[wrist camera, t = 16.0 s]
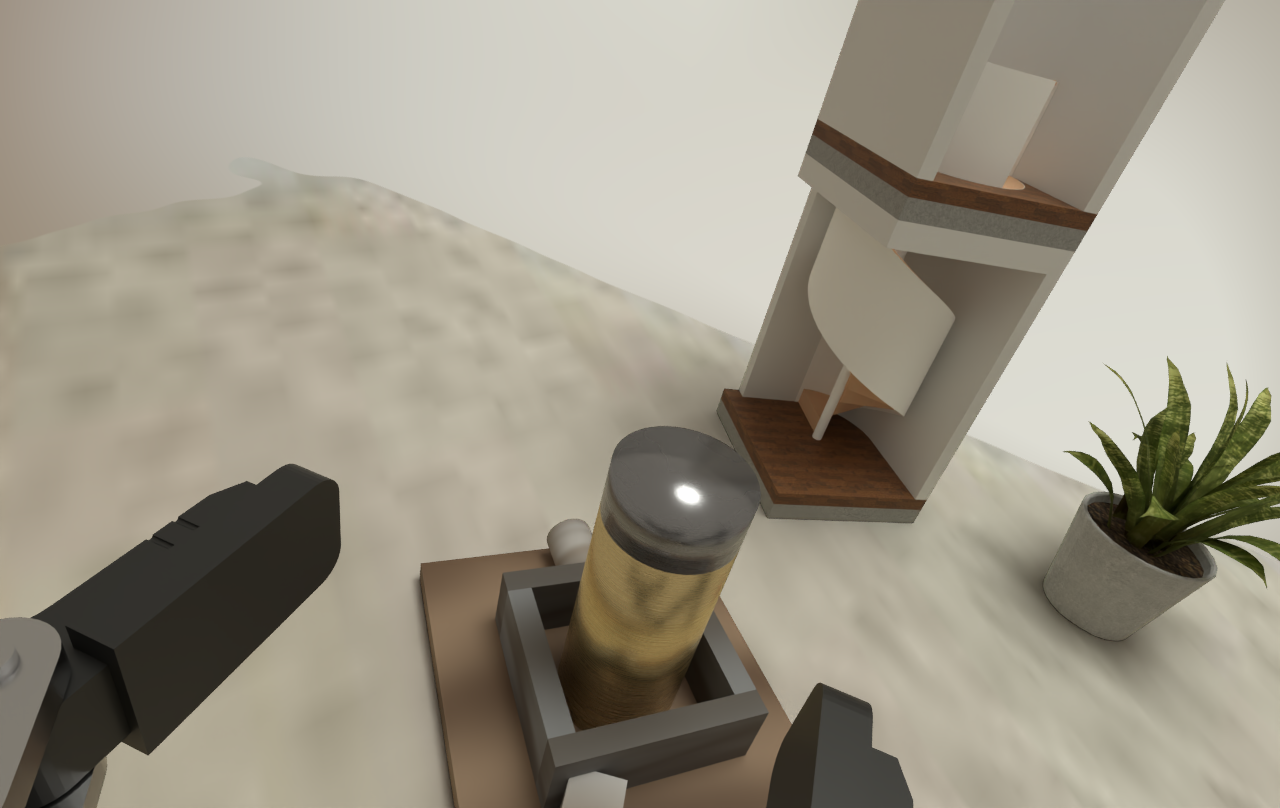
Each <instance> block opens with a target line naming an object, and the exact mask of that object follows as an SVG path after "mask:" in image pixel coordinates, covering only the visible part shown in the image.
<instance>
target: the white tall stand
mask: <svg viewBox="0 0 1280 808" xmlns="http://www.w3.org/2000/svg"><path fill="white" fill-rule="evenodd" d="M1224 1H1225V0H858V3H857V6H856V9H855V12H854V15H853V18H852V20H851V24H850V27H849V29H848V32H847V35H846V38H845V41H844V44H843V47H842V49H841V52H840V55H839V58H838V61H837V64H836V67H835V70H834V73H833V76H832V78H831V81H830V84H829V87H828V90H827V93H826V96H825V99H824V102H823V105H822V108H821V110H820V113H819V116H818V119H817V122H816V125H815V128H814V131H813V134H812V136H811V139H810V143H809V145H808V148H807V151H806V154H805V157H804V160H803V163H802V166H801V168H800V171H799V174H798V176H799V177H800V178H801V179H802V180H803V181H805V182H806V183H807V184H808V185H810V186H811V187H812V188H811V191H810V193H809V196H808V199H807V202H806V205H805V207H804V210H803V213H802V216H801V219H800V222H799V224H798V227H797V230H796V233H795V235H794V238H793V241H792V244H791V246H790V249H789V252H788V255H787V257H786V260H785V263H784V266H783V269H782V271H781V275H780V277H779V280H778V283H777V286H776V288H775V291H774V294H773V297H772V299H771V302H770V305H769V308H768V310H767V313H766V316H765V319H764V322H763V325H762V327H761V330H760V333H759V335H758V338H757V341H756V344H755V347H754V349H753V352H752V355H751V358H750V361H749V363H748V366H747V369H746V372H745V374H744V377H743V380H742V383H741V386H740V388H739V390H733V389H724V391H723V394H722V397H721V400H720V403H719V406H718V409H717V413H718V415H719V417H720V419H721V422H722V424H723V426H724V428H725V430H726V432H727V434H728V436H729V438H730V440H731V442H732V445H733V447H734V449H735V451H736V452H737V453H738V454H739V455H740V456H741V457H742V458H743V459H744V460H746V462H747V463H748V464H749V465H750V466H751V468H752V470H753V471H754V473H755V474H756V477H757V479H758V481H759V485H760V490H761V499H760V503H761V505H762V507H763V509H764V512H765V514H766V516H767V518H782V519H811V520H840V521H869V522H897V523H913V522H914V521H915V519H916V517H917V516H918V514H919V512H920V511H921V509H922V507H923V506H924V504H925V502H926V501H927V499H928V497H929V496H930V494H931V492H932V490H933V489H934V487H935V485H936V484H937V482H938V480H939V479H940V477H941V475H942V474H943V472H944V470H945V469H946V467H947V465H948V464H949V462H950V460H951V459H952V457H953V455H954V454H955V452H956V450H957V449H958V447H959V445H960V444H961V442H962V440H963V439H964V437H965V435H966V434H967V432H968V430H969V429H970V427H971V425H972V423H973V422H974V420H975V418H976V417H977V415H978V413H979V412H980V410H981V408H982V407H983V405H984V403H985V402H986V400H987V398H988V397H989V395H990V393H991V392H992V390H993V388H994V387H995V385H996V383H997V382H998V380H999V378H1000V377H1001V375H1002V373H1003V372H1004V370H1005V368H1006V366H1007V365H1008V363H1009V361H1010V360H1011V358H1012V356H1013V355H1014V353H1015V351H1016V350H1017V348H1018V346H1019V345H1020V343H1021V341H1022V340H1023V338H1024V336H1025V335H1026V333H1027V331H1028V330H1029V328H1030V326H1031V325H1032V323H1033V321H1034V320H1035V318H1036V316H1037V315H1038V313H1039V311H1040V310H1041V308H1042V306H1043V305H1044V303H1045V301H1046V299H1047V298H1048V296H1049V295H1050V293H1051V291H1052V289H1053V288H1054V286H1055V284H1056V283H1057V281H1058V279H1059V278H1060V276H1061V274H1062V273H1063V271H1064V269H1065V267H1066V266H1067V264H1068V263H1069V261H1070V259H1071V257H1072V256H1073V254H1074V253H1075V251H1076V249H1077V248H1078V246H1079V244H1080V243H1081V241H1082V239H1083V237H1084V236H1085V234H1086V233H1087V231H1088V229H1089V227H1090V226H1091V224H1092V222H1093V221H1094V219H1095V217H1096V216H1097V214H1098V212H1099V211H1100V209H1101V207H1102V206H1103V204H1104V202H1105V201H1106V199H1107V197H1108V196H1109V194H1110V192H1111V191H1112V189H1113V187H1114V185H1115V184H1116V182H1117V181H1118V179H1119V177H1120V175H1121V174H1122V172H1123V171H1124V169H1125V167H1126V166H1127V164H1128V162H1129V161H1130V159H1131V157H1132V155H1133V154H1134V152H1135V150H1136V148H1137V147H1138V145H1139V144H1140V142H1141V140H1142V139H1143V137H1144V135H1145V134H1146V132H1147V130H1148V129H1149V127H1150V125H1151V124H1152V122H1153V120H1154V119H1155V117H1156V115H1157V114H1158V112H1159V110H1160V109H1161V107H1162V105H1163V103H1164V102H1165V100H1166V98H1167V97H1168V95H1169V93H1170V91H1171V90H1172V88H1173V87H1174V85H1175V83H1176V82H1177V80H1178V78H1179V77H1180V75H1181V73H1182V72H1183V70H1184V68H1185V67H1186V65H1187V63H1188V62H1189V60H1190V58H1191V56H1192V55H1193V53H1194V52H1195V50H1196V48H1197V47H1198V45H1199V43H1200V42H1201V40H1202V38H1203V37H1204V35H1205V33H1206V31H1207V30H1208V28H1209V27H1210V25H1211V23H1212V21H1213V20H1214V18H1215V16H1216V15H1217V13H1218V11H1219V9H1220V8H1221V6H1222V5H1223V3H1224Z"/></svg>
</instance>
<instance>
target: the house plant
mask: <svg viewBox="0 0 1280 808" xmlns="http://www.w3.org/2000/svg"><path fill="white" fill-rule="evenodd" d="M1167 362H1168V369H1169V392H1168V403H1167V408H1166V409H1164V410H1163V411H1161V412H1160V413H1158V414H1157V415H1156V416H1154V417H1153V418H1151V419H1150V421H1149V423H1148V424H1147V426H1146V427H1145V426H1144V422H1143V419H1142V416H1141V414H1140V411H1139V409H1138V411H1139V414H1140V417H1141V419H1142V422H1143V426H1144V432H1143V435H1142V436H1139V435H1137V434H1135V433H1133V434H1134V436H1135V438H1134V439H1136V438H1139V440H1140V441H1141V443H1140V447H1139V452H1138V457H1137V472H1136V471H1135V469H1134V468H1133V467H1132V465H1131V464H1130V462H1129V461H1128V459H1127V458H1126V457H1125V455H1124V454H1123V453H1122V452H1121V450H1120V449H1119V448H1118V447H1117V445H1116V444H1115V443H1114V442H1113V441H1112V440H1111V439H1110V438H1109V436H1108V435H1106V433H1104V432H1103V431H1102V430H1100V429H1099V428H1098V427H1096V426H1095V425H1094V424H1092V423H1091V422H1090V424H1091V427H1092V429H1093V431H1094V432H1095V433H1096V434H1097V435H1098V437H1099V438H1100V439H1101V442H1102V445H1103V447H1104V450H1105V452H1106V454H1107V456H1108V457H1109V459H1110V461H1111V462H1112V464H1113V465H1114V467H1115V468H1116V470H1117V472H1118V474H1119V476H1120V478H1121V481H1122V486H1123V490H1124V495H1119V494H1115V493H1113V488H1112V483H1111V481H1110V479H1109V477H1108V475H1107V473H1106V471H1105V470H1104V468H1103V466H1102V465H1101V464H1100V463H1099V462H1098V461H1097V459H1095V458H1093V457H1092V456H1090V455H1088V454H1085V453H1083V452H1076V451H1064V452H1068V453H1070V454H1072V455H1073V456H1074V457H1076V458H1077V459H1078V460H1080V461H1081V462H1082V463H1083V464H1084V465H1086V466H1087V467H1088V468H1089V469H1090V470H1091V471H1093V472H1094V473H1095V474H1096V475H1097V476H1098V477H1099V479H1100V480H1101V481H1102V482H1103V484H1104V485H1105V486H1106V488H1107V489H1108V491H1109V492H1093V493H1091V494H1088V495H1086V496H1085V497H1084V499H1083V501H1082V503H1081V505H1080V507H1079V509H1078V511H1077V513H1076V515H1075V517H1074V519H1073V521H1072V523H1071V525H1070V527H1069V529H1068V531H1067V533H1066V536H1065V538H1064V540H1063V542H1062V544H1061V546H1060V548H1059V550H1058V552H1057V554H1056V556H1055V558H1054V560H1053V562H1052V564H1051V566H1050V568H1049V571H1048V573H1047V575H1046V577H1045V579H1044V581H1043V589H1044V591H1045V594H1046V596H1047V598H1048V599H1049V601H1050V602H1051V604H1052V605H1053V606H1054V607H1055V608H1056V609H1057V610H1058V612H1059V613H1060V614H1062V615H1063V616H1064V617H1066V618H1067V619H1068V620H1070V621H1071V622H1072V623H1074V624H1075V625H1077V626H1078V627H1080V628H1082V629H1083V630H1085V631H1087V632H1089V633H1090V634H1092V635H1094V636H1097V637H1100V638H1103V639H1106V640H1113V641H1119V640H1124V639H1126V638H1127V637H1129V636H1130V635H1132V634H1133V633H1135V632H1136V631H1137V630H1139V629H1140V628H1142V627H1143V626H1145V625H1146V624H1148V623H1149V622H1151V621H1152V620H1154V619H1155V618H1156V617H1158V616H1159V615H1161V614H1162V613H1164V612H1165V611H1167V610H1168V609H1170V608H1171V607H1172V606H1174V605H1175V604H1177V603H1178V602H1180V601H1181V600H1183V599H1184V598H1186V597H1187V596H1189V595H1190V594H1191V593H1193V592H1194V591H1196V590H1197V589H1199V588H1200V587H1202V586H1203V585H1205V584H1206V583H1208V582H1209V581H1210V580H1212V579H1213V578H1215V577H1216V573H1217V565H1216V563H1215V560H1214V558H1213V556H1212V555H1211V553H1210V552H1209V551H1208V549H1207V548H1206V547H1205V546H1204V545H1203V544H1205V545H1207V546H1210V547H1212V548H1214V549H1216V550H1218V551H1220V552H1222V553H1224V554H1226V555H1228V556H1230V557H1231V558H1233V559H1235V560H1237V561H1238V562H1240V563H1242V564H1243V565H1245V566H1247V567H1248V568H1250V569H1252V570H1253V571H1254V572H1255V573H1256V574H1257V575H1258V576H1259V577H1260V578H1262V579H1263V581H1264V583H1265V585H1266V579H1265V573H1264V568H1263V566H1262V564H1261V563H1260V562H1259V561H1258V560H1257V559H1256V558H1255V557H1254V556H1253V555H1251V554H1250V553H1249V552H1247V551H1245V550H1243V549H1242V548H1240V547H1238V546H1235V545H1232V544H1229V543H1227V542H1223V541H1220V540H1217V539H1236V540H1239V541H1243V542H1247V543H1249V544H1251V545H1254V546H1256V547H1258V548H1260V549H1262V550H1264V551H1266V552H1268V553H1269V554H1271V555H1272V556H1274V557H1275V558H1277V559H1278V560H1279V561H1280V544H1278V543H1276V542H1273V541H1270V540H1266V539H1262V538H1258V537H1253V536H1232V535H1231V536H1230V535H1229V536H1223V537H1219V538H1208V537H1211V536H1213V535H1216V534H1219V533H1221V532H1224V531H1226V530H1229V529H1231V528H1234V527H1238V526H1242V525H1245V524H1250V523H1254V522H1258V521H1264V520H1269V519H1277V518H1280V507H1270V506H1273V505H1276V504H1279V503H1280V486H1257V485H1261V484H1265V483H1271V482H1276V481H1280V453H1277V454H1274V455H1271V456H1269V457H1268V458H1266V459H1264V460H1262V461H1260V462H1258V463H1256V464H1255V465H1253V466H1251V467H1250V468H1248V469H1246V470H1245V471H1243V472H1242V473H1240V474H1238V475H1237V476H1235V477H1233V478H1231V479H1230V480H1228V481H1226V482H1224V481H1225V480H1226V478H1227V477H1228V475H1229V474H1230V473H1231V471H1232V470H1233V468H1234V467H1235V466H1236V465H1237V464H1238V463H1239V462H1240V461H1241V460H1242V459H1243V458H1244V457H1245V456H1246V454H1247V453H1248V452H1249V451H1250V450H1251V449H1252V448H1253V447H1254V445H1255V444H1256V443H1257V441H1258V440H1259V439H1260V438H1261V437H1262V435H1263V434H1264V432H1265V430H1266V429H1267V427H1268V425H1269V424H1270V422H1271V406H1270V403H1271V394H1270V392H1269V390H1268V388H1265V389H1264V390H1263V391H1262V392H1261V393H1260V394H1259V395H1258V397H1257V399H1256V400H1255V401H1254V403H1253V405H1252V406H1251V408H1250V410H1249V412H1248V413H1247V415H1246V416H1245V418H1244V419H1243V421H1242V422H1241V420H1242V418H1243V415H1244V412H1245V409H1246V405H1247V401H1248V386H1247V382H1246V389H1247V390H1246V400H1245V404H1244V408H1243V410H1242V412H1241V414H1240V416H1239V418H1238V420H1237V421H1236V423H1235V419H1236V414H1237V410H1238V403H1237V394H1236V389H1235V384H1234V380H1233V377H1232V375H1231V372H1230V370H1229V367H1228V365H1227V371H1228V379H1229V388H1230V405H1229V408H1228V411H1227V414H1226V417H1225V420H1224V423H1223V425H1222V427H1221V429H1220V432H1219V434H1218V436H1217V438H1216V440H1215V442H1214V444H1213V446H1212V448H1211V450H1210V451H1209V453H1208V455H1207V456H1206V458H1205V459H1204V461H1203V463H1202V464H1201V466H1200V467H1199V469H1198V471H1197V473H1196V475H1195V476H1194V478H1193V480H1192V476H1193V465H1192V464H1191V462H1190V461H1189V460H1188V458H1189V457H1190V456H1191V454H1192V452H1193V448H1194V442H1195V440H1196V437H1195V434H1194V433H1192V434H1190V435H1189V436H1188V432H1189V425H1190V415H1191V404H1190V401H1189V397H1188V394H1187V391H1186V389H1185V387H1184V384H1183V381H1182V378H1181V375H1180V372H1179V370H1178V369H1177V367H1176V366H1175V365H1174V364H1173V363H1172V362H1171V361H1170V360H1169V359H1168V357H1167ZM1107 367H1108V366H1107ZM1108 368H1109V369H1110V370H1111V371H1113V372H1114V373H1115V374H1116V375H1117V376H1118V377H1119V378H1120V379H1121V380H1122V381H1123V383H1124V384H1125V386H1126V387H1127V389H1128V390H1129V392H1130V393H1131V395H1132V397H1133V399H1134V396H1133V394H1132V392H1131V390H1130V388H1129V387H1128V385H1127V384H1126V383H1125V381H1124V380H1123V379H1122V377H1121V376H1120V375H1119V374H1118V373H1117V372H1116V371H1114V370H1113V369H1111V368H1110V367H1108ZM1134 401H1135V399H1134ZM1135 404H1136V406H1137V403H1136V401H1135ZM1137 408H1138V407H1137ZM1240 422H1241V423H1240ZM1234 424H1235V425H1234ZM1155 471H1156V473H1155ZM1154 473H1155V479H1154V486H1153V478H1154ZM1191 480H1192V481H1191ZM1223 482H1224V483H1223ZM1152 486H1153V493H1152ZM1263 497H1267V498H1264V499H1261V500H1259V499H1258V498H1263ZM1236 507H1238V508H1236ZM1233 508H1234V509H1233ZM1230 509H1231V510H1230ZM1226 510H1227V511H1226ZM1223 511H1224V512H1223ZM1219 512H1220V513H1219ZM1216 513H1217V514H1216ZM1225 513H1226V514H1225ZM1212 514H1214V515H1212ZM1221 514H1224V515H1221ZM1210 515H1211V516H1210ZM1218 515H1221V516H1219V517H1216V518H1214V519H1212V520H1209V521H1206V522H1204V523H1202V524H1200V525H1197V526H1195V527H1193V528H1191V529H1188V530H1187V529H1186V528H1187V527H1189V526H1191V525H1193V524H1195V523H1198V522H1200V521H1202V520H1205V519H1208V518H1211V517H1214V516H1218ZM1202 543H1203V544H1202ZM1266 588H1267V585H1266Z"/></svg>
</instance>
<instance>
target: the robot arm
mask: <svg viewBox="0 0 1280 808" xmlns="http://www.w3.org/2000/svg"><path fill="white" fill-rule="evenodd" d="M340 549H341V535H340V503H339V487H338V484H337V483H336V482H335V481H334V480H331V479H329V478H327V477H324V476H322V475H320V474H317V473H315V472H312V471H310V470H308V469H305V468H303V467H301V466H298V465H295V464H287V465H285V466H282V467H281V468H279V469H277V470H276V471H275V472H273V473H272V474H271V475H269V476H268V477H267V478H265V479H264V480H262V481H261V482H260V483H258V484H257V485H255V484H253V483H250V482H248V481H246V482H243V483H241V484H238V485H235V486H233V487H230V488H227V489H225V490H222V491H219V492H217V493H214V494H211V495H209V496H207V497H206V498H205V499H203V500H202V501H200V502H199V503H197V504H196V505H195V506H193V507H192V508H190V509H189V510H187V511H186V512H185V513H183V514H182V515H180V516H179V517H178V520H177V521H176V522H173V521H172V522H170V523H169V524H167V525H166V526H164V527H163V528H162V529H160V530H159V531H157V532H156V533H154V534H153V536H152V538H151V539H150V540H144V541H143V542H142V543H140V544H139V545H137V546H136V547H134V548H133V549H132V550H130V551H129V552H127V553H126V554H124V555H123V556H122V557H120V558H119V559H117V560H116V561H114V562H113V563H111V564H110V565H109V566H107V567H106V568H104V569H103V570H101V571H100V572H99V573H97V574H96V575H94V576H93V577H91V578H90V579H89V580H87V581H86V582H84V583H83V584H81V585H80V586H79V587H77V588H76V589H74V590H73V591H71V592H70V593H68V594H67V595H66V596H64V597H63V598H61V599H60V600H58V601H57V602H56V603H54V604H53V605H51V606H50V607H48V608H47V609H45V610H44V611H42V612H40V613H39V614H37V615H35V616H33V617H31V618H22V617H18V618H5V619H0V808H97V804H98V801H99V797H100V793H101V790H102V786H103V782H104V779H105V775H106V770H107V758H106V756H107V755H108V754H109V753H110V752H111V751H112V750H113V749H114V748H115V747H116V746H117V745H118V744H119V743H120V742H123V743H125V744H127V745H129V746H131V747H133V748H135V749H137V750H139V751H141V752H143V753H144V754H146V755H149V754H150V753H151V752H152V751H153V750H154V749H155V748H156V747H158V746H159V745H160V744H161V743H162V742H163V741H164V740H165V739H166V738H167V737H168V736H169V735H170V734H171V733H172V732H173V731H174V730H175V729H176V728H177V727H178V726H179V725H180V724H181V723H182V722H183V721H184V720H185V719H186V718H187V717H188V716H189V715H190V714H191V713H192V712H193V711H194V710H195V709H196V708H197V707H198V706H199V705H200V704H201V703H202V702H203V701H204V700H205V699H206V698H207V697H208V696H209V695H210V694H211V693H212V692H213V691H214V690H215V689H216V688H217V687H218V686H219V685H220V684H221V683H222V682H223V681H224V680H225V679H226V678H227V677H228V676H229V675H230V674H231V673H232V672H233V671H234V670H235V669H236V668H237V667H238V666H239V665H240V664H241V663H242V662H243V661H244V660H245V659H246V658H247V657H248V656H249V655H250V654H251V653H252V652H253V651H254V650H255V649H256V648H258V647H259V646H260V645H261V644H262V643H263V642H264V641H265V640H266V639H267V638H268V637H269V636H270V635H271V634H272V633H273V632H274V631H275V630H276V629H277V628H278V627H279V626H280V625H281V624H282V623H283V622H284V621H285V620H286V619H287V618H288V617H289V616H290V615H291V614H292V613H293V612H294V611H295V610H296V609H297V608H298V607H299V606H300V605H301V604H302V603H303V602H304V601H305V600H306V599H307V598H308V597H309V596H310V595H311V594H312V593H313V592H314V591H315V590H316V589H317V588H318V587H319V586H320V585H321V584H322V583H323V582H324V581H325V580H326V578H327V577H328V576H329V574H330V573H331V571H332V570H333V568H334V566H335V564H336V562H337V559H338V557H339V553H340ZM872 723H873V713H872V708H871V705H870V704H869V703H867V702H865V701H863V700H860V699H858V698H856V697H853V696H851V695H848V694H846V693H844V692H841V691H839V690H837V689H834V688H832V687H829V686H827V685H825V684H822V683H818V684H817V685H816V686H815V687H814V689H813V690H812V692H811V694H810V695H809V697H808V699H807V700H806V702H805V704H804V705H803V707H802V709H801V710H800V712H799V714H798V715H797V717H796V719H795V720H794V722H793V724H792V726H791V727H790V729H789V731H788V732H787V734H786V736H785V737H784V739H783V741H782V743H781V746H780V748H779V751H778V754H777V757H776V760H775V763H774V767H773V771H772V775H771V781H770V786H769V793H768V799H767V805H766V808H913V799H912V796H911V794H910V791H909V788H908V786H907V783H906V780H905V778H904V775H903V772H902V770H901V767H900V764H899V761H898V759H897V758H896V757H893V756H891V755H889V754H886V753H884V752H882V751H879V750H877V749H875V748H872Z"/></svg>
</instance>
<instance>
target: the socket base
mask: <svg viewBox="0 0 1280 808" xmlns="http://www.w3.org/2000/svg"><path fill="white" fill-rule="evenodd" d="M591 538H592V533H591V531H590V528H589V526H588V524H587V523H586V522H585V521H583V520H580V519H569V520H565V521H563V522H560V523H559V524H557V525H556V526H554V527H553V528H552V529H551V530H550V532H549V534H548V536H547V543H548V546H549V549H541V550H532V551H524V552H515V553H507V554H498V555H490V556H481V557H472V558H464V559H455V560H447V561H438V562H430V563H421V570H420V582H421V589H422V595H423V602H424V608H425V615H426V622H427V628H428V635H429V641H430V648H431V655H432V661H433V668H434V674H435V681H436V688H437V694H438V701H439V707H440V714H441V721H442V727H443V734H444V740H445V747H446V754H447V760H448V767H449V774H450V780H451V787H452V793H453V800H454V807H455V808H766V805H767V799H768V793H769V786H770V781H771V775H772V771H773V767H774V763H775V760H776V757H777V754H778V751H779V748H780V746H781V743H782V741H783V739H784V737H785V736H786V734H787V732H788V731H789V729H790V727H791V726H792V724H791V722H790V721H789V719H788V717H787V715H786V713H785V712H784V710H783V708H782V706H781V705H780V703H779V701H778V699H777V697H776V696H775V694H774V692H773V690H772V688H771V687H770V685H769V683H768V681H767V680H766V678H765V676H764V674H763V672H762V671H761V669H760V667H759V665H758V664H757V662H756V660H755V658H754V656H753V655H752V653H751V651H750V649H749V648H748V646H747V644H746V642H745V640H744V639H743V637H742V635H741V633H740V632H739V630H738V628H737V626H736V624H735V623H734V621H733V619H732V617H731V615H730V614H729V612H728V610H727V608H726V607H725V605H724V603H723V601H722V599H721V598H720V596H719V598H718V600H717V603H716V605H715V607H714V609H713V612H712V614H711V616H710V619H709V621H708V623H707V626H706V628H705V630H704V632H703V635H702V637H701V639H700V642H699V644H698V646H697V649H696V651H695V653H694V655H693V658H692V660H691V662H690V665H689V667H688V669H687V672H686V674H685V676H684V678H683V681H682V683H681V685H680V688H679V690H678V692H677V695H676V697H675V699H674V701H673V704H672V706H671V708H670V710H668V711H664V712H659V713H655V714H651V715H647V716H642V717H638V718H634V719H630V720H626V721H621V722H617V723H613V724H609V725H605V726H600V727H596V728H592V729H588V730H583V731H582V730H581V729H580V728H579V727H577V726H576V725H575V724H574V723H573V722H572V719H571V716H570V712H569V709H568V706H567V703H566V699H565V696H564V693H563V689H562V686H561V683H560V680H559V676H558V673H557V672H558V667H559V663H560V660H561V656H562V652H563V648H564V644H565V640H566V636H567V632H568V628H569V624H570V620H571V616H572V612H573V609H574V605H575V601H576V597H577V593H578V589H579V585H580V581H581V577H582V573H583V569H584V565H585V561H586V558H587V554H588V550H589V546H590V542H591Z"/></svg>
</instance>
